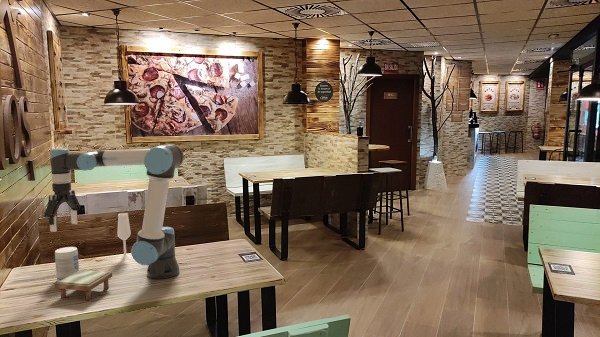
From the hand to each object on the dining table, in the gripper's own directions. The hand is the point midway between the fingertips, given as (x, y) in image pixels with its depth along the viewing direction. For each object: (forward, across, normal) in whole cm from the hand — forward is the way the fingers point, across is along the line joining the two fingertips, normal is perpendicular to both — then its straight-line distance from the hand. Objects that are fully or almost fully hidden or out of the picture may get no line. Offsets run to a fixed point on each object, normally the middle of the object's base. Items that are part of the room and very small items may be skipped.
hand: (64, 227), depth 202 cm
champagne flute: (+25, -34, +8) cm, 43 cm away
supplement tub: (+26, 0, 0) cm, 26 cm away
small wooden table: (+25, +12, +18) cm, 33 cm away
